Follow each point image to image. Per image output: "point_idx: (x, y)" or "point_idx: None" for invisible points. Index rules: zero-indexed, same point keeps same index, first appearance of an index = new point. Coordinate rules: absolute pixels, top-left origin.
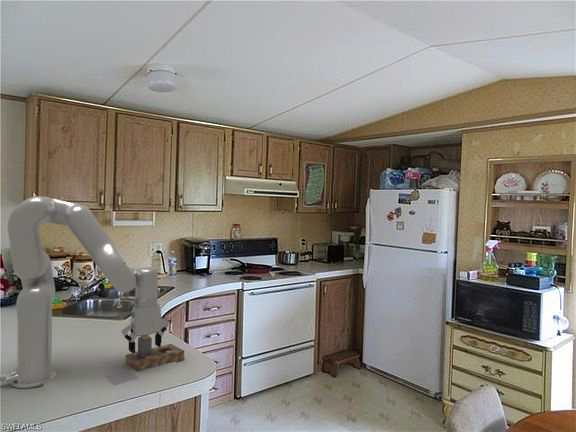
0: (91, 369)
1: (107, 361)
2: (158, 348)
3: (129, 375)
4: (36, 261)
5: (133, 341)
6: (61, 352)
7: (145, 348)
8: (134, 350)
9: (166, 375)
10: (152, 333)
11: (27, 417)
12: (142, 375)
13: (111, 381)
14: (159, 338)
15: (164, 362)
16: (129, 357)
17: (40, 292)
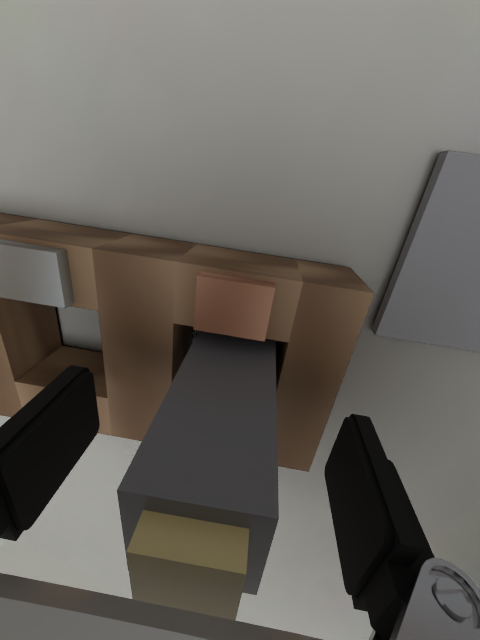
0: (439, 484)
1: (326, 497)
2: None
3: (442, 256)
4: None
5: (395, 564)
6: (368, 629)
7: (239, 402)
8: (364, 433)
9: (229, 41)
10: (57, 590)
11: None
12: (349, 215)
13: None
14: (14, 438)
15: (135, 240)
16: (324, 426)
17: None
